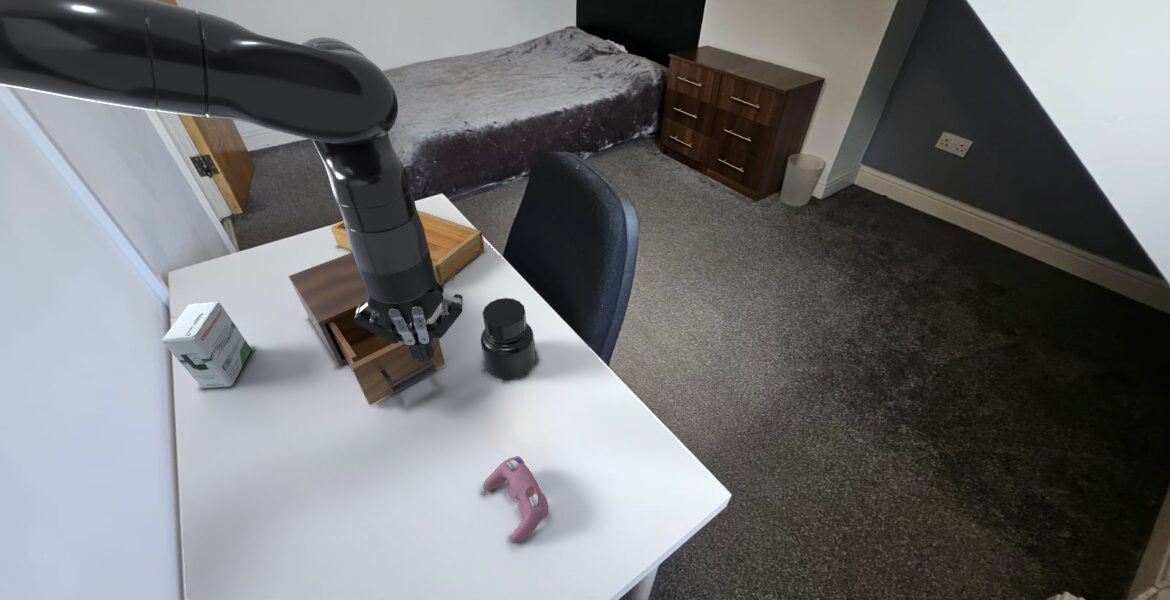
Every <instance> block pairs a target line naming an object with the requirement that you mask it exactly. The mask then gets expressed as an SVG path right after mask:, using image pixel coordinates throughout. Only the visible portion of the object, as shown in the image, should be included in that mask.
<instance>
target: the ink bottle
mask: <svg viewBox="0 0 1170 600" xmlns="http://www.w3.org/2000/svg"><path fill="white" fill-rule="evenodd" d="M482 319H483V325H484V329H483V331H482V333H481V336H480V345H481V351H482V356H483V361H484V367H485V370H487V372H488V373H489V374H490V375H491V376H493V377H495V378H498V379H503V380H515V379H519V378H521V377H524V376H525V375H526V374H528V373H529V372H530V371H531V369H533V367H534V365H535V361H536V343H535V335H534V331H533V328H532V327H531V326H530V325H529V323H527V316H526V309H525V305H524V304H522V302H521V301H520V300H517V299H515V298H508V297H503V298H496V299H495V300H492V301H490V302H489V303H488V304H487V305H486V306H484V308H483V311H482Z"/></svg>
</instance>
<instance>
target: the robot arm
mask: <svg viewBox="0 0 1170 600" xmlns="http://www.w3.org/2000/svg"><path fill="white" fill-rule="evenodd" d="M0 86H2V87H3V86H4V87H10V88H15V89H22V90H27V91H33V92H37V93H44V94H49V95H54V96H60V97H66V98H69V99H70V98H71V99H76V100H82V101H88V102H93V103H99V104H106V105H111V106H112V105H113V106H118V107H125V108H133V109H139V110H146V111H154V112H157V111H158V112H161V113H168V114H176V115H184V116H193V117H201V118H206V117H207V119H219V120H233V121H239V122H244V123H248V124H251V125H255V126H258V127H261V128H265V129H268V130H273V131H275V132H279V133H284V134H287V135H291V136H292V135H293V136H295V137H296V136H297V137H300V138H303V139H308V140H312V142H313V144H314V147H315V148H316V150H317V152H318V155H319V157H320V158H321V161H322V162H323V165H324V168H325V170H326V174H327V177H328V180H329V184H330V188H331V191H332V195H333V198H334V199H335V203H336V205H337V208H338V210H339V213H340V216H341V218H342V221H344V224H345V228H346V233H347V238H348V242H349V245H350V248H351V250H350V253H351V254H352V256H353V258H354V259H355V261H356V264H357V266H358V269H359V272H360V274H361V277H362V279H363V282H364V285H365V287H366V290H367V292H368V294H369V296H368V299H367V303H365V304H364V303H361V304H359V305H358V308H357V310H356V314H355V318H354V322H355V323H356V324H358V325H360V326H362V327H364V328H365V329H367V330H369V331H371V332H373V333H374V334H376V335H378V336H380V337H381V338H383V339H385V340H387V341H389V342H390V343H393V344H396V343H398V342H399V341H403V342H405V343H406V344H407V345H408V347H409V350H410V353H411V356H412V358H413V359H414V360H418V363H424V362H430V361H431V358H434V355H435V345H434V341H433V338H436V339H439V340H440V339H442V338H443V337H444V336H445V334H446V333H447V332H448V330H450V328H451V327H452V326H453V324H454V323H455V322H456V321H457V319H458V318H459V317H460V316H461V314H462V313H463V306H464V305H463V303H464V301H463V300H464V297H463V295H461V294H460V293H455V294H453V296H452V295H450V294H448V293H446V292H445V290H444V287H443V285H442V284H441V285H440V284H439V283H438V282H437V280H436V276H435V272H434V268H433V264H432V260H431V256H430V251H429V247H428V243H427V239H426V235H425V231H424V228H423V224H422V222H421V219H420V217H419V215H418V212H417V210H418V209H417V206H416V202H415V198H414V194H413V189H412V186H411V182H410V179H409V175H408V172H407V170H406V167H405V165H404V163H403V161H402V160H401V157H399V155H398V153H397V152H396V150H395V149H394V147H393V145H392V142H391V139H390V136H389V135H390V134H389V132H390V131H391V129H392V128H393V127H394V125H395V123H396V121H397V117H398V113H399V102H398V96H397V93H396V91H395V88H394V86H393V83H392V82H391V81H390V78H389V77H388V76H387V75H386V74H385V72H384V71H383V70H382V69H381V67H379V66H378V65H377V64H376V63H374V62H373V61H372V60H371V59H370V58H368V57H367V56H365V55H364V54H363V53H362V52H361V51H360V50H358V49H357V48H355V47H354V46H352V45H350V44H349V43H347V42H345V41H343V40H340V39H337V38H332V37H324V36H322V37H320V36H319V37H314V38H310V39H308V40H306V41H304V42H302V43H301V44H300V43H296V42H292V41H287V40H283V39H279V38H274V37H270V36H266V35H262V34H259V33H257V32H254V31H251V30H249V29H248V28H246V27H244V26H242V24H239V23H237V22H234V21H233V20H230V19H227V18H224V17H221V16H218V15H215V14H211V13H207V12H204V11H200V10H198V11H196V10H195V9H192V8H188V7H184V6H179V5H176V4H171V3H167V2H163V1H158V0H0ZM440 305H441V311H440V313H439V314H438V315H437V316H436V318H435V320H434V321H433V322H432V323H431V321H430V319H431V318H432V317H433V315H434V314H435V312H436V311H437V310H438V308H439V307H440ZM385 327H386V328H388V329H389V330H388V329H386V328H385ZM390 330H391V331H390Z"/></svg>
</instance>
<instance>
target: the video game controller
mask: <svg viewBox="0 0 1170 600" xmlns="http://www.w3.org/2000/svg"><path fill="white" fill-rule="evenodd" d="M484 480H485V481H484V483H483V485H482V489H483V490H484V491H488V492H489V491H493V490H494V489H496V488H498V487H499V486H500V485H502V484H503V483H505V482H506V481H507V493H508V495H509V497H510V498H512V499H515V498H518V500H519V501H518V504H517V507H518V512H519V514H520V516H521V517H522V520H521V521H520V523H519V524H518V525H517V527H516V528H515V529H514V530H513V533H512V534H511V537H510V541H511V542H512V543H513V544H517V543H520V542H522V541H524V540H525V539H526V538H527V537H529V536H530V535H531V534H532V533H533V532H534V531H535V530H536V528H537V527H538V526H539V524H540V523H541V522H542V520H543V519H545V518H546V517H547V516H548V514H549V502H548V499H547V497H546V495H545V494H544V493H543V492H542V489H541V488H540V485H539V482H538V481H537V478H535V476H534V474H533V472H532V471H531V470H530V469H529V468H528V466H527V465H526V464H525V462H524V459H523V458H522V457H520V456H519V455H516V456H513V457H509V458H507V459H505V460H504V461H502V462H501V463H500V464H499V465H498V466H497V467H496V468H495V469H494V470H493V471H492V472H491V474H489V475H488V477H487V478H486V479H484Z"/></svg>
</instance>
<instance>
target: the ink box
mask: <svg viewBox="0 0 1170 600" xmlns="http://www.w3.org/2000/svg"><path fill="white" fill-rule="evenodd" d="M161 342H162V343H163V344H164V345H165V347H166V348H167V349H168V350H169V351H170V352H171V354H172V355H173V356H174V357H175V358H176V360H177V361H178V362H179V363H180V364H181V365H182V367H183V368H184V369H185V370H186V371H187V373H188V374H189V375H190V376H191V377H192V378H193V379H194V380H195V382H196V383H197V385H199V387H200V388H202V389H212V388H213V389H214V388H227V387H229V388H230V387H232V386H233V385H234V383H235V382H236V379H237V378H238V376H239V374H240V372H241V370H242V368H243V366H244V364H245V363H246V361H247V359H248V357H249V355H250V354H251V352H252V347H251V346H250V345H249V342H248V341H247V340H246V339H245V337H244V335H243V334H242V333H241V331H240V330H239V328H238V327H237V326H236V324H235V323H234V321H233V320H232V318H231V317H230V315H229V314H228V312H227V311H226V309H225V308H224V307H223V305H222V304H221V302H219V301H218V302H217V301H210V302H200V303H189V304H188V305H187V306H186V307H185V308H184V310H183V312H182V313H181V314H180V315H179V317H178V318H177V319H176V321H175V322H174V323H173V325H172V326H171V327H170V328H169V330H167V333H166V334H165V335H164V336H163V337H162V339H161Z"/></svg>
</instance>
